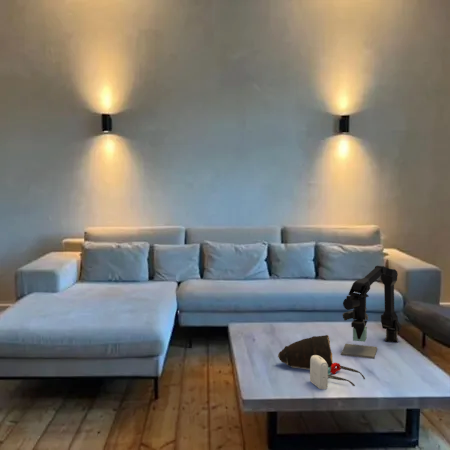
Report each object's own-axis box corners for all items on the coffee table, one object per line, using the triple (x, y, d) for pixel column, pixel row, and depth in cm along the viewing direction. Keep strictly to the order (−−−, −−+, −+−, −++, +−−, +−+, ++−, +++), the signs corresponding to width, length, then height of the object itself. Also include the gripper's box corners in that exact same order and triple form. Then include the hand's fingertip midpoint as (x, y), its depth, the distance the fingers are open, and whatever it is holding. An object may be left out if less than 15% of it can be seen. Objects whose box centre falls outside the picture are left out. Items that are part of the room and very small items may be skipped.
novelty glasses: (336, 371, 238) (336, 360, 237) (366, 378, 228) (367, 367, 228) (321, 380, 227) (321, 369, 227) (352, 388, 218) (352, 377, 217)
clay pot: (275, 336, 251) (327, 328, 246) (281, 365, 253) (333, 358, 249) (274, 350, 236) (329, 342, 232) (280, 380, 239) (335, 373, 234)
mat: (345, 345, 274) (345, 343, 273) (377, 348, 268) (377, 346, 268) (340, 355, 259) (341, 353, 259) (374, 358, 253) (374, 356, 253)
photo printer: (329, 389, 216) (329, 360, 215) (319, 390, 215) (320, 361, 214) (317, 380, 226) (317, 352, 225) (308, 381, 225) (308, 353, 224)
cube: (354, 337, 267) (354, 325, 266) (366, 338, 264) (366, 326, 264) (352, 340, 261) (353, 328, 261) (365, 341, 259) (365, 329, 258)
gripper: (346, 301, 273) (346, 330, 274) (341, 309, 256) (340, 340, 257) (368, 303, 269) (368, 332, 270) (364, 311, 252) (363, 343, 253)
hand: (359, 337), depth 263 cm, fingers closed on cube, 6 cm apart
